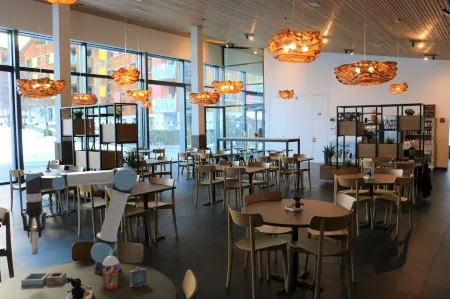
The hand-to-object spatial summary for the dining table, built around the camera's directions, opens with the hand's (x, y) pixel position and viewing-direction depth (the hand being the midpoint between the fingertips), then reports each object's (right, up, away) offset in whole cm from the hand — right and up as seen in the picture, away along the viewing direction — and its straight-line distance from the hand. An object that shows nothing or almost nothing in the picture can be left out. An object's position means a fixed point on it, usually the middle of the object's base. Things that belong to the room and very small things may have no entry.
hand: (34, 243), depth 211 cm
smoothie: (+44, -22, -7) cm, 50 cm away
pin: (0, -6, 0) cm, 6 cm away
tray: (0, -22, +1) cm, 22 cm away
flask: (+58, -22, -5) cm, 62 cm away
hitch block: (+11, -22, +2) cm, 25 cm away
